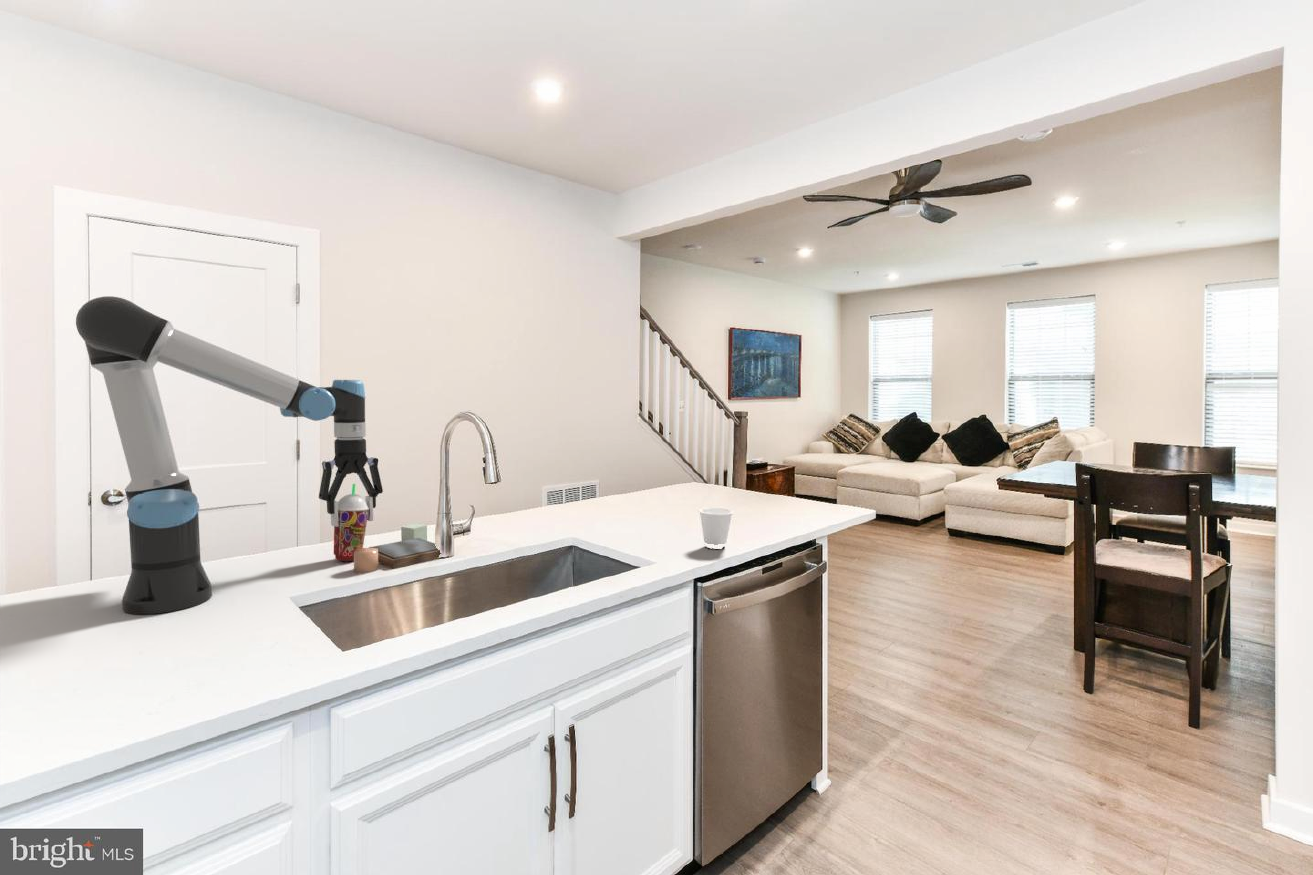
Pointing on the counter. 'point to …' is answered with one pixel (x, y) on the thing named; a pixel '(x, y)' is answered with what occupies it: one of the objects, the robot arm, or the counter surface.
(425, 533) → the sage box
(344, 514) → the smoothie
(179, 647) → the counter surface
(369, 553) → the rounded peach cube
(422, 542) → the podium
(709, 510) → the cup
